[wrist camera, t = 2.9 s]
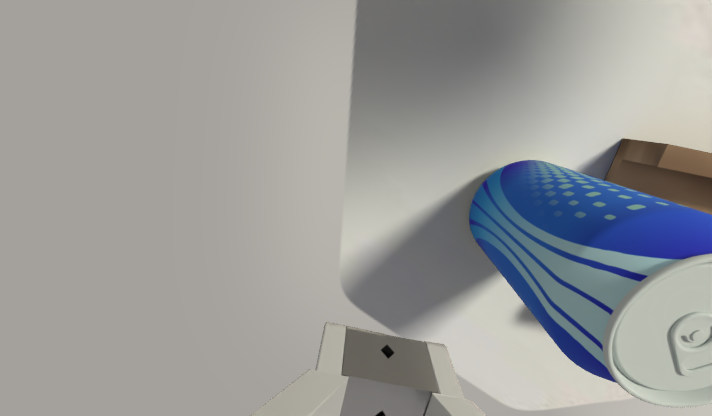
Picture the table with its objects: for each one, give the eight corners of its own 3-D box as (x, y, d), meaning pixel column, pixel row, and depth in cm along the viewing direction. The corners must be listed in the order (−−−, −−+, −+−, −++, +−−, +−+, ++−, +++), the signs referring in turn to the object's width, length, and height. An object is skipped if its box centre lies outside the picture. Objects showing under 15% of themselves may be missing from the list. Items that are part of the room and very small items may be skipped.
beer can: (450, 241, 28) (544, 399, 13) (486, 145, 26) (653, 202, 11) (543, 264, 29) (741, 446, 13) (587, 172, 26) (893, 265, 11)
